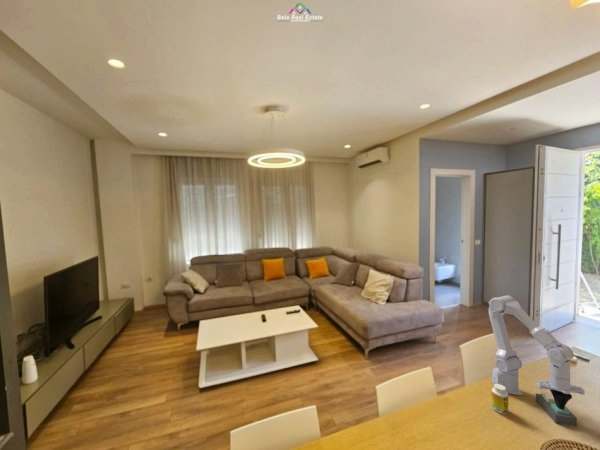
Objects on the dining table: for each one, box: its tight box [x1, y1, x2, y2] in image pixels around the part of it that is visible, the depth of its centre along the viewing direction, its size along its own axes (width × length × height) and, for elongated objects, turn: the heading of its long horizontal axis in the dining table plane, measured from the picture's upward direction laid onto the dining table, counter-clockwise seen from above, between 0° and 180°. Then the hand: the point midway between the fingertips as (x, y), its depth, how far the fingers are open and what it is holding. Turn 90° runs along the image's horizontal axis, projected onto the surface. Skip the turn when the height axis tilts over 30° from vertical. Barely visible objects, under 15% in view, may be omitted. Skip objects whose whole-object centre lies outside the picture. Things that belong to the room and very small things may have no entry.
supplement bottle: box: [491, 384, 509, 415], centre depth 108 cm, size 6×6×10 cm
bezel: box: [535, 393, 578, 425], centre depth 105 cm, size 7×12×2 cm, turn 164°
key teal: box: [550, 403, 571, 415], centre depth 103 cm, size 4×4×2 cm
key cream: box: [541, 391, 556, 404], centre depth 108 cm, size 4×4×2 cm
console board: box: [535, 398, 578, 427], centre depth 105 cm, size 7×12×1 cm, turn 164°
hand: (559, 407), depth 103 cm, fingers closed, pressing on key teal
